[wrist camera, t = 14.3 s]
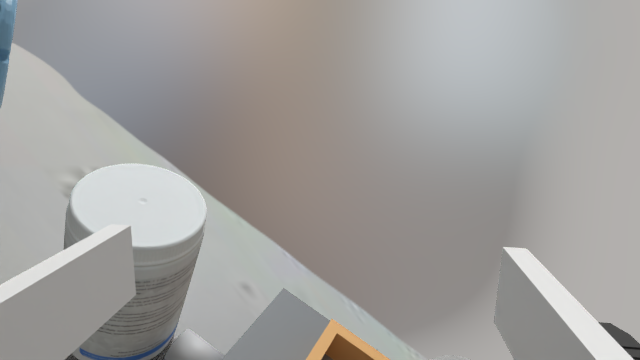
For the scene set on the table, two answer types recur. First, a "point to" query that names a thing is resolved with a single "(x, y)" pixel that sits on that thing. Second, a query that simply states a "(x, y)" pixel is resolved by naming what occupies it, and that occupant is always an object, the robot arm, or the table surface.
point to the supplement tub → (141, 252)
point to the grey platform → (282, 338)
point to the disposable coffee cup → (450, 358)
